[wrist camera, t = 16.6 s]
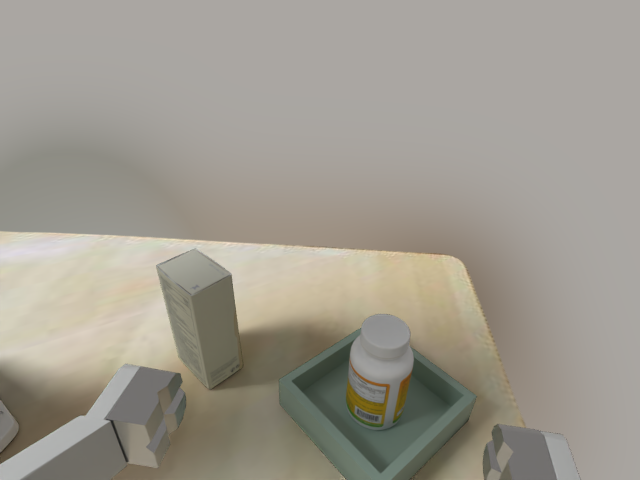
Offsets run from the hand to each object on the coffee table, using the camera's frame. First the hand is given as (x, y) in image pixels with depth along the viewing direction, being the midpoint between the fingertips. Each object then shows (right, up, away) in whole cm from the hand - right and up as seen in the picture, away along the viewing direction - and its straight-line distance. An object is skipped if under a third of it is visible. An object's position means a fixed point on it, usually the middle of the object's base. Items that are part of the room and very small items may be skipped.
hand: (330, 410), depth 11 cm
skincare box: (-12, -9, +34) cm, 37 cm away
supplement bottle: (+5, -11, +29) cm, 31 cm away
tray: (+5, -12, +29) cm, 32 cm away
